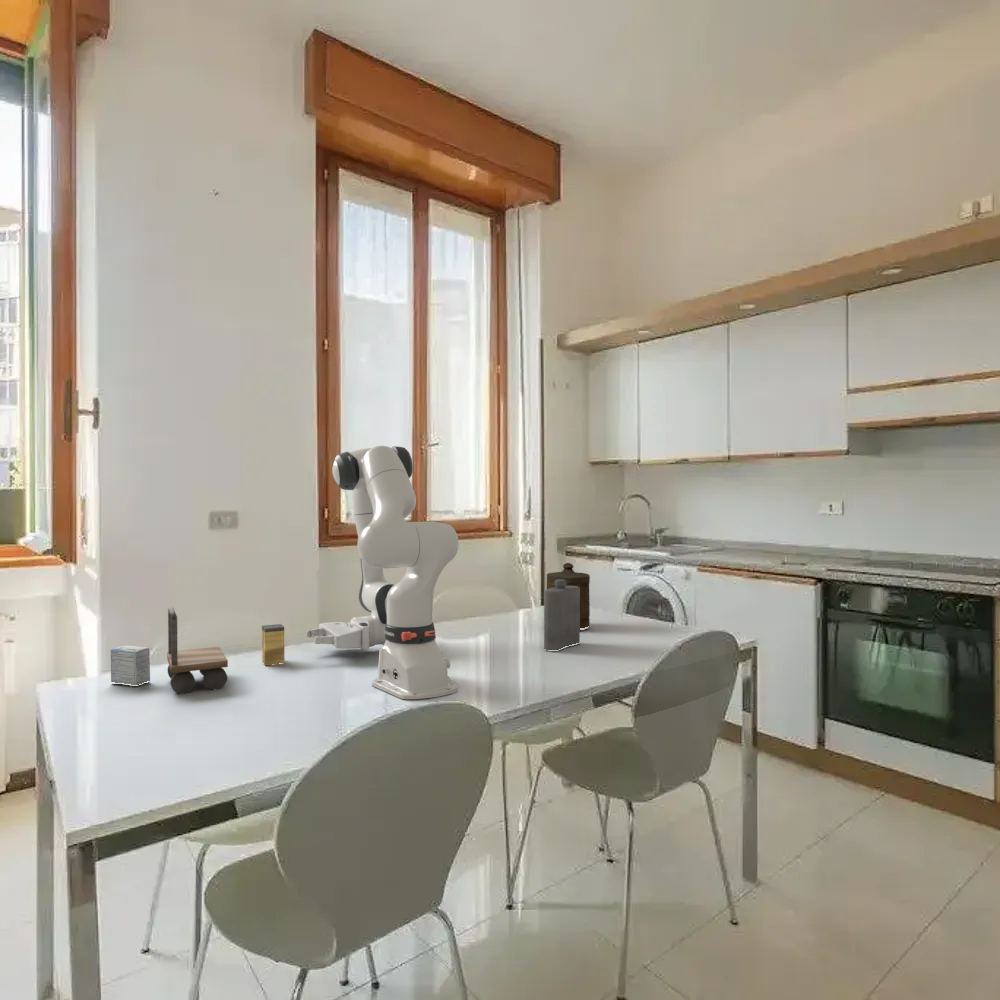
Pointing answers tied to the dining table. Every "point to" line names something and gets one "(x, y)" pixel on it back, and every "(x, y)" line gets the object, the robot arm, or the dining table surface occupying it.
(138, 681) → the grey wood-grain block
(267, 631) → the chock block
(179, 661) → the trolley
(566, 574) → the wooden container
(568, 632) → the flask
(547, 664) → the dining table surface
